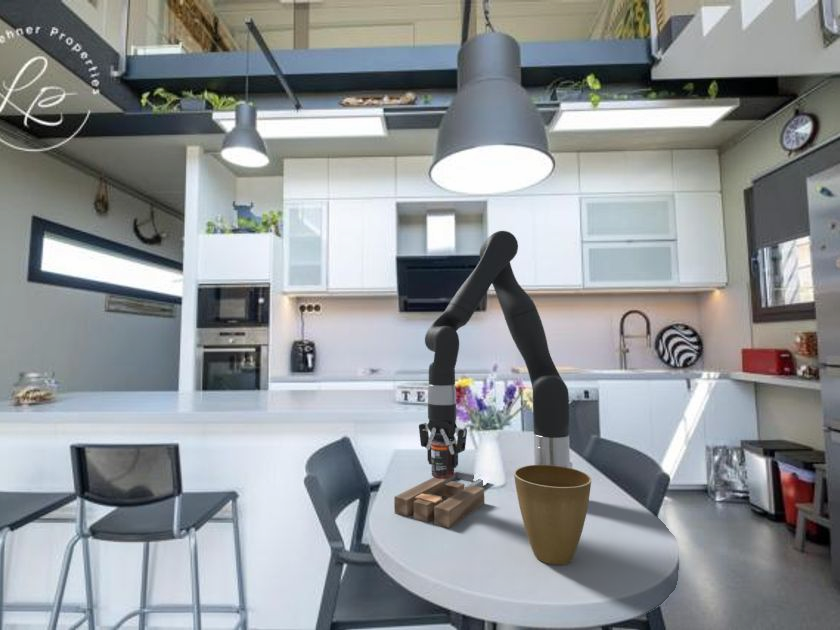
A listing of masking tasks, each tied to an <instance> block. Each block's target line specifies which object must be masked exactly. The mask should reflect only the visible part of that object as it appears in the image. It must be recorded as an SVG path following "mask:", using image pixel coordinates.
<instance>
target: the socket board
mask: <svg viewBox="0 0 840 630" xmlns="http://www.w3.org/2000/svg"><path fill="white" fill-rule="evenodd" d="M467 486H468V485H467ZM443 497H445V498H444V500H443V499H442V498H443ZM393 502H394V514H397V515H401V516H404V517H409V516H411V515H413V519H415V520H419V521H421V522H425V523H428V522H431V520H433V519H434V521H433V522H434V523H433V524H434V525H435V526H440V527H442V528H446V529H450V528H451V527H453V526H454V525H456V524H457V523H459V522H460V521H462V520H463V519H465V518H466V517H467V516H469V515H470V514H472V513H473V512H475V510H477V509H479V508H480V507H481V506H483V505H484V504H485V488H484V487H477V486H473V485H470V486H468V487H467V488H465V483H464V482H463V483H462V482H457V481H454V480H453V481H451V482H449V483H447V484H446V480H444V479H438V478H434V477H433V476H432V478H429V479H428V480H425V481H424V482H422V483H420V484H417V485H416V486H413V487H411V488H409V489H407V490H405V491H403V492H401V493H399V494H396V495H395V496H394V501H393Z"/></svg>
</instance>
